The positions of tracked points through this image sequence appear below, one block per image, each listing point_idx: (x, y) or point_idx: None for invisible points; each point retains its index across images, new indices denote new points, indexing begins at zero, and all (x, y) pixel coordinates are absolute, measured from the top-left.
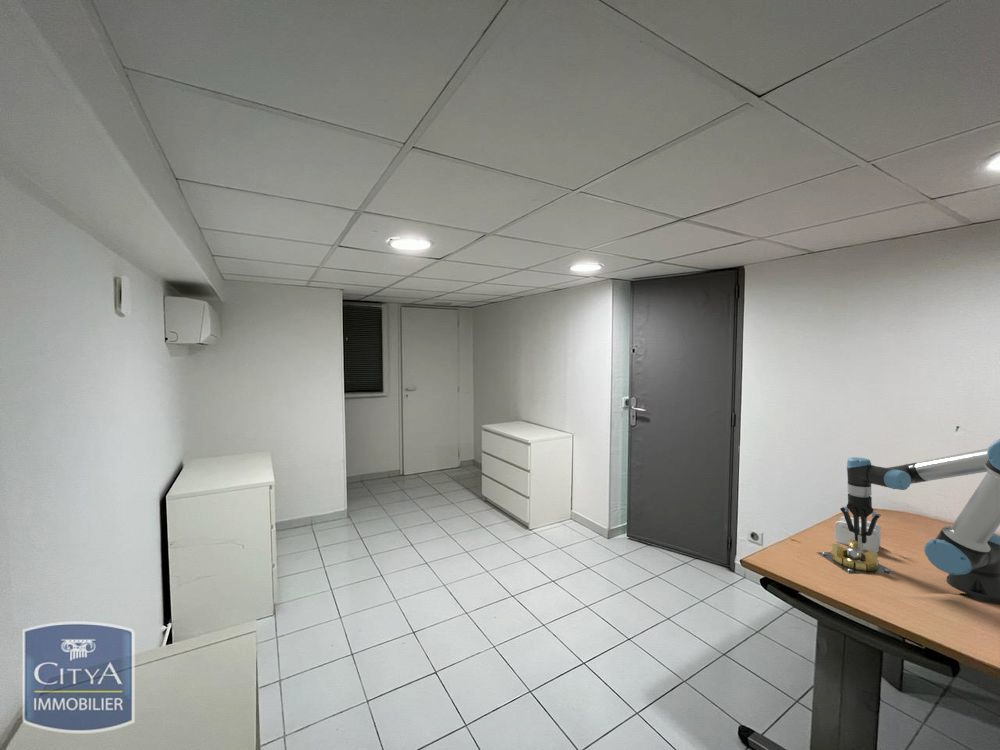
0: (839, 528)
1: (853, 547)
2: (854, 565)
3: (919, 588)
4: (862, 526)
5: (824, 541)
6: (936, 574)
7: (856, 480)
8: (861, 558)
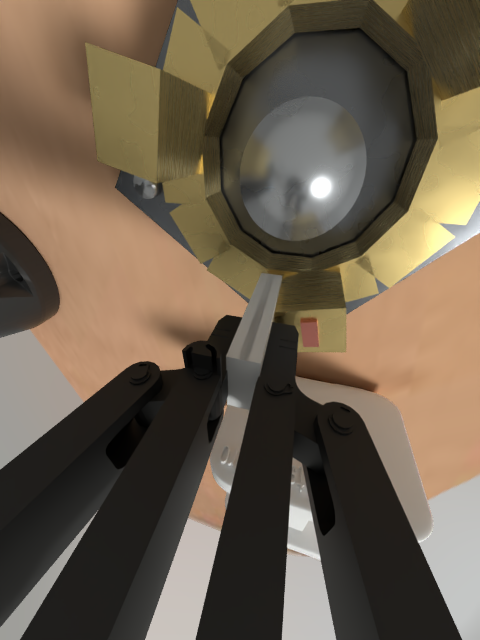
0: (397, 482)
1: (307, 237)
2: None
3: (31, 120)
4: (146, 500)
5: (441, 404)
6: (100, 323)
7: None
8: (272, 254)
